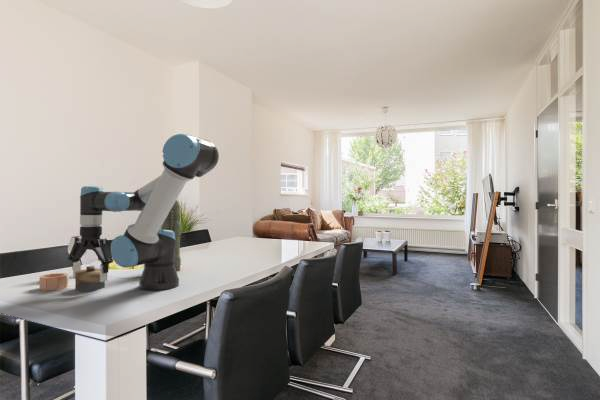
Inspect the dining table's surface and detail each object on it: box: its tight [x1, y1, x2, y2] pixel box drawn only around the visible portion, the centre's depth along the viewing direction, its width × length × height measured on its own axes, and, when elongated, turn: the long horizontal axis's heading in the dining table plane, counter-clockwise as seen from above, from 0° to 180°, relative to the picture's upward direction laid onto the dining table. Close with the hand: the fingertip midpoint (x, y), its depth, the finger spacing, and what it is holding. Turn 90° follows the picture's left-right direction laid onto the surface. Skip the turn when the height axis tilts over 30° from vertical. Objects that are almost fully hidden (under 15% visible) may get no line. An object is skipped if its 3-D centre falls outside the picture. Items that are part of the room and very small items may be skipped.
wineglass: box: [67, 235, 89, 279], centre depth 161 cm, size 8×8×18 cm
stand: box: [74, 281, 106, 293], centre depth 140 cm, size 7×7×3 cm
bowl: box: [39, 272, 69, 292], centre depth 140 cm, size 9×9×5 cm
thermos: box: [161, 199, 182, 273], centre depth 177 cm, size 9×12×35 cm
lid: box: [74, 265, 100, 284], centre depth 140 cm, size 10×10×6 cm
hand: (89, 279), depth 140 cm, fingers open, 13 cm apart
